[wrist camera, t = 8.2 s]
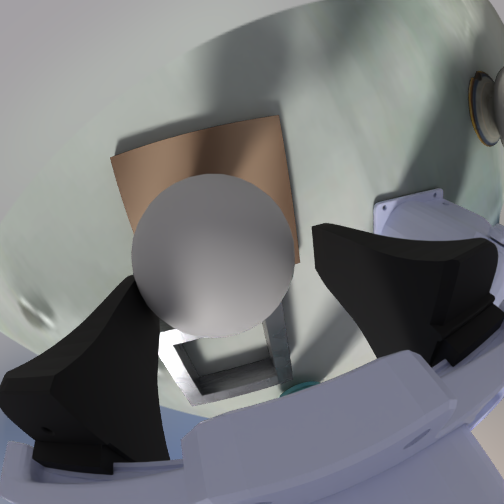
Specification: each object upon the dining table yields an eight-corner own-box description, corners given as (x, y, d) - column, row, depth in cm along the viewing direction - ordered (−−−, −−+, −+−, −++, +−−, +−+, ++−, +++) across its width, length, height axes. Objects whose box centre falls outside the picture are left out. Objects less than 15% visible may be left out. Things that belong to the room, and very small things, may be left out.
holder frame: (272, 282, 22) (281, 299, 20) (285, 362, 27) (293, 379, 25) (150, 315, 21) (147, 335, 19) (190, 387, 26) (192, 406, 24)
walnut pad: (274, 115, 17) (278, 115, 16) (295, 257, 22) (300, 262, 21) (113, 156, 16) (109, 157, 15) (161, 293, 21) (161, 301, 20)
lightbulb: (144, 176, 16) (79, 233, 6) (237, 148, 16) (309, 164, 7) (172, 260, 18) (166, 389, 9) (257, 235, 19) (329, 340, 9)
